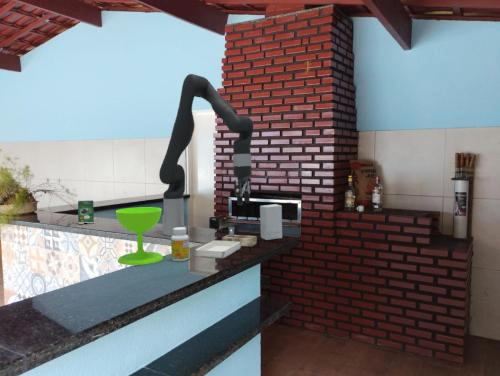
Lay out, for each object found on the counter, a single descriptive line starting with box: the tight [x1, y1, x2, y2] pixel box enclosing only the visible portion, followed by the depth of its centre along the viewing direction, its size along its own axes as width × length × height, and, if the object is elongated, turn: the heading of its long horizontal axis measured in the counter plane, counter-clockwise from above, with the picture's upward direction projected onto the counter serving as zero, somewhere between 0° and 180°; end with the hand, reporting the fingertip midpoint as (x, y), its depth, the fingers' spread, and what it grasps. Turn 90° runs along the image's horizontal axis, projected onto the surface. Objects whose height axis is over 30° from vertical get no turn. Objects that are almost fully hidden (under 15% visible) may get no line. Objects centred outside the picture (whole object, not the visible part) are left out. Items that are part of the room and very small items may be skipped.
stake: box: [228, 226, 236, 237], centre depth 177 cm, size 2×2×7 cm
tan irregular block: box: [221, 234, 258, 247], centre depth 175 cm, size 13×8×3 cm, turn 71°
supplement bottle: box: [170, 226, 190, 262], centre depth 151 cm, size 6×6×11 cm
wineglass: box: [115, 206, 164, 266], centre depth 152 cm, size 16×16×18 cm
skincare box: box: [259, 203, 283, 241], centre depth 186 cm, size 8×6×15 cm
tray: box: [194, 239, 242, 259], centre depth 162 cm, size 12×18×2 cm, turn 161°
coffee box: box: [77, 200, 95, 223], centre depth 234 cm, size 8×3×13 cm, turn 119°
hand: (243, 204), depth 174 cm, fingers open, 8 cm apart
